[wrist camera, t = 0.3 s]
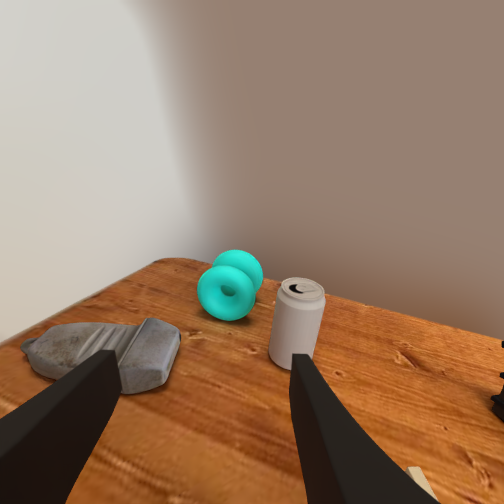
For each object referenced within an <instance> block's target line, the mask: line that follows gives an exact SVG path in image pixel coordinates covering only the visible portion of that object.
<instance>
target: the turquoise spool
mask: <svg viewBox="0 0 504 504" xmlns="http://www.w3.org/2000/svg"><path fill="white" fill-rule="evenodd" d="M262 281H263V272H262V268H261V266H260V264H259V262H258V261H257V260H256V259H255V258H254V257H253V256H252V255H251V254H249V253H247V252H245V251H241V250H229V251H226V252H223V253H222V254H220V255H219V256H218V257H217V258H216V259H215V261H214V263H213V265H212V268H211V269H209V270H207V271H206V272H205V273H204V274H203V275H202V276H201V278H200V280H199V282H198V286H197V295H198V299H199V301H200V303H201V305H202V307H203V308H204V309H205V310H206V311H207V312H208V313H209V314H211V315H212V316H214V317H216V318H218V319H221V320H228V321H232V320H237V319H240V318H242V317H244V316H246V315H247V314H248V313H249V312H250V311H251V310H252V308H253V306H254V303H255V299H256V292H257V291H258V290H259V288H260V287H261V284H262Z"/></svg>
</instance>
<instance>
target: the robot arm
mask: <svg viewBox="0 0 504 504" xmlns="http://www.w3.org/2000/svg"><path fill="white" fill-rule="evenodd" d="M121 391H122V384H121V379H120V374H119V368H118V363H117V358H116V352H115V350H99V351H97V352H96V353H94V354H93V355H91V356H90V357H89V358H87V359H86V360H84V361H83V362H82V363H80V364H79V365H78V366H76V367H75V368H74V369H72V370H71V371H69V372H68V373H67V374H65V375H64V376H63V377H61V378H60V379H58V380H57V381H56V382H54V383H53V384H52V385H50V386H49V387H47V388H46V389H45V390H43V391H42V392H40V393H39V394H37V395H36V396H34V397H33V398H31V399H30V400H28V401H27V402H25V403H24V404H22V405H21V406H19V407H18V408H16V409H15V410H13V411H12V412H10V413H9V414H7V415H6V416H4V417H2V418H1V419H0V504H65V503H66V500H67V498H68V496H69V494H70V492H71V490H72V488H73V486H74V484H75V482H76V480H77V478H78V476H79V474H80V472H81V471H82V469H83V467H84V465H85V463H86V462H87V460H88V458H89V456H90V454H91V452H92V451H93V449H94V447H95V445H96V443H97V441H98V440H99V438H100V436H101V434H102V432H103V430H104V429H105V427H106V425H107V423H108V421H109V419H110V417H111V415H112V413H113V411H114V408H115V406H116V404H117V401H118V399H119V396H120V393H121ZM289 397H290V408H291V417H292V423H293V428H294V433H295V438H296V443H297V448H298V453H299V458H300V463H301V468H302V473H303V478H304V483H305V488H306V494H307V501H308V504H441V503H439V502H438V501H437V500H436V499H435V498H434V497H432V496H431V495H430V494H429V493H428V492H426V491H425V490H424V489H423V488H422V487H421V486H419V485H418V484H417V483H416V482H415V481H414V480H413V479H412V478H411V477H410V476H409V475H408V474H407V473H406V472H404V471H403V470H402V469H401V468H400V467H399V466H398V465H397V464H396V463H395V462H394V461H393V460H392V459H391V458H390V457H389V456H388V455H387V454H386V453H385V452H384V451H383V450H382V449H381V448H380V447H379V446H378V445H377V444H376V443H375V442H374V441H373V440H372V439H371V438H370V436H369V435H368V434H367V433H366V432H365V431H364V430H363V429H362V428H361V426H360V425H359V424H358V423H357V422H356V421H355V419H354V418H353V417H352V416H351V414H350V413H349V412H348V411H347V410H346V408H345V407H344V406H343V404H342V403H341V402H340V401H339V399H338V398H337V396H336V395H335V394H334V392H333V391H332V390H331V388H330V387H329V385H328V384H327V383H326V381H325V380H324V378H323V377H322V375H321V374H320V372H319V370H318V369H317V367H316V366H315V364H314V362H313V361H312V359H311V357H310V356H309V355H308V354H296V353H292V363H291V375H290V386H289Z"/></svg>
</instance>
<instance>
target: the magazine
mask: <svg viewBox="0 0 504 504" xmlns="http://www.w3.org/2000/svg"><path fill="white" fill-rule="evenodd" d="M502 348H504V341H502ZM500 377H501V378H503V379H504V372H502V373H500ZM491 400H492V401H494V402H495V404H494V406H493V407H492V411H493V412H494V413H495V414H496V415H498V416H499V417H500V418H501V419H502V420H503V421H504V385H503V389H502V391H501V393H500V394H499V395H493V396H492V397H491Z"/></svg>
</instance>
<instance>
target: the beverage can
mask: <svg viewBox="0 0 504 504" xmlns="http://www.w3.org/2000/svg"><path fill="white" fill-rule="evenodd" d="M324 293H325V292H324V289H323V287H322V286H321V285H319V284H318V283H316V282H314V281H312V280H308V279H305V278H288V279H286V280H284V281H283V282H282V285H281V287H280V288H279V290H278V292H277V298H276V305H275V311H274V318H273V324H272V331H271V337H270V343H269V355H270V357H271V359H272V360H273V361H274V362H275V363H276V364H277V365H279V366H280V367H282V368H285V369H288V370H291V363H292V353H296V354H308V355H309V356H310V357H311V359H312V357H313V352H314V348H315V344H316V340H317V336H318V331H319V327H320V323H321V319H322V315H323V311H324V306H325V302H326V300H325V297H324Z"/></svg>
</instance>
